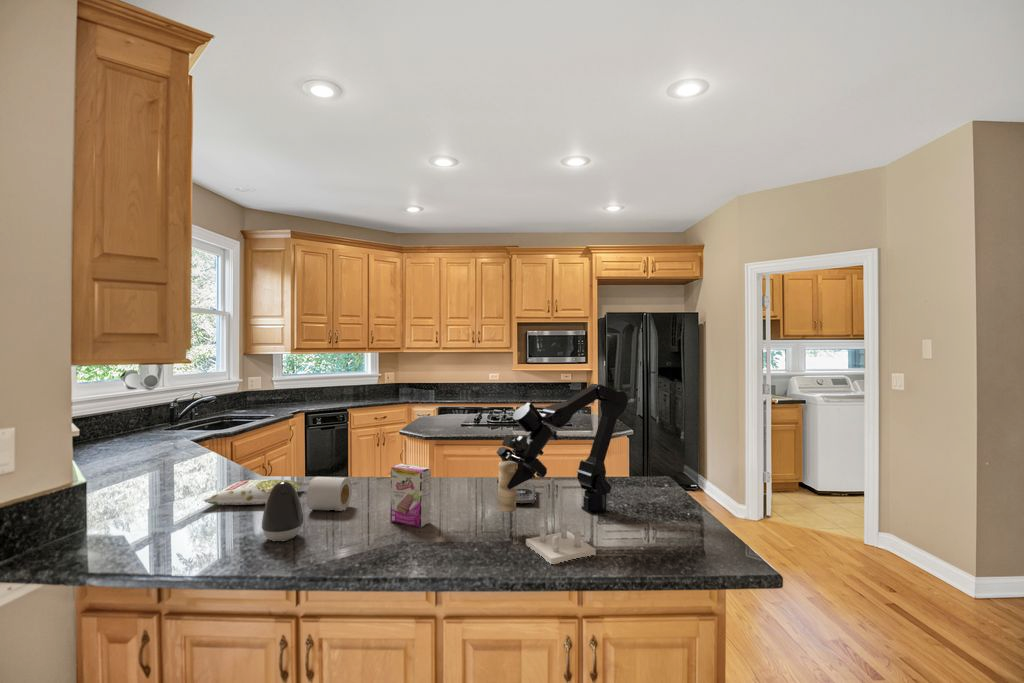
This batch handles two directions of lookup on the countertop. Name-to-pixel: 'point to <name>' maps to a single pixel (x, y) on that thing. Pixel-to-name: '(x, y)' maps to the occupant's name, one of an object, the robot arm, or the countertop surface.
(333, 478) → the toilet paper
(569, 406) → the robot arm
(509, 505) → the maple post
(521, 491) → the graphics card
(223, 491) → the frozen beans
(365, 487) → the countertop surface
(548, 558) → the pin plate
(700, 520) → the countertop surface
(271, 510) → the aroma diffuser
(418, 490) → the candy bar box
